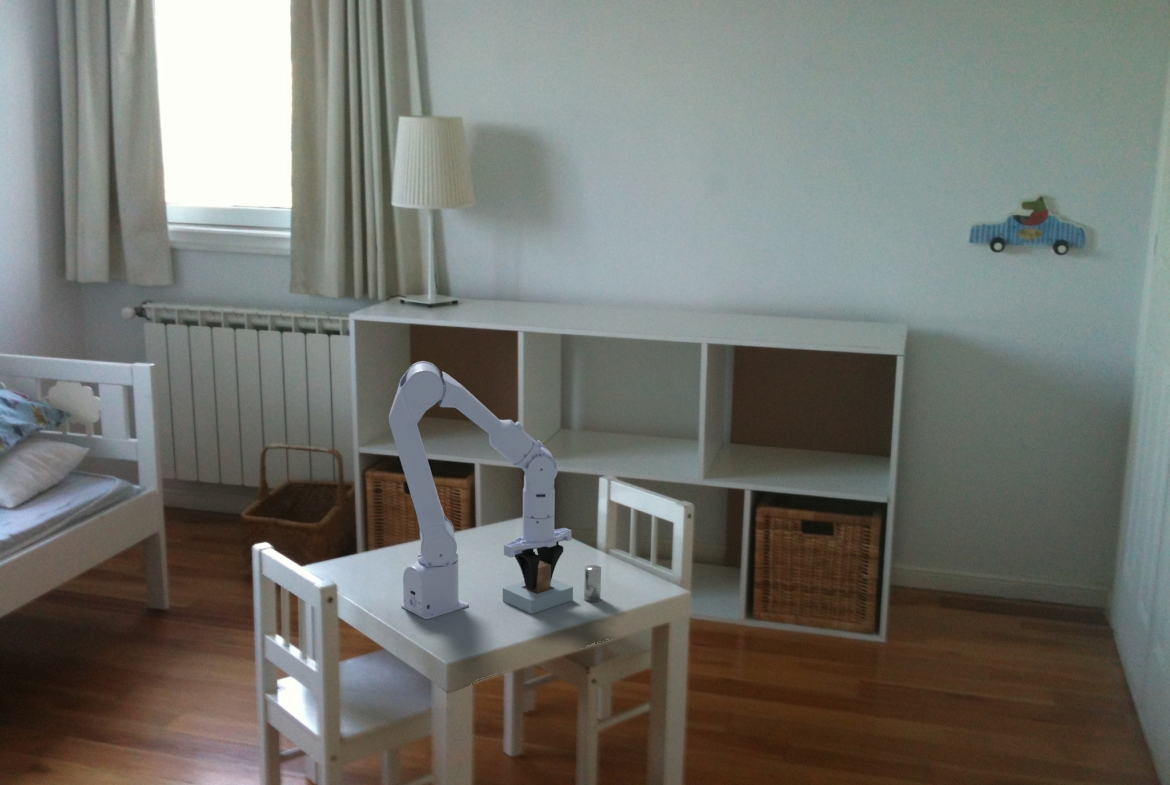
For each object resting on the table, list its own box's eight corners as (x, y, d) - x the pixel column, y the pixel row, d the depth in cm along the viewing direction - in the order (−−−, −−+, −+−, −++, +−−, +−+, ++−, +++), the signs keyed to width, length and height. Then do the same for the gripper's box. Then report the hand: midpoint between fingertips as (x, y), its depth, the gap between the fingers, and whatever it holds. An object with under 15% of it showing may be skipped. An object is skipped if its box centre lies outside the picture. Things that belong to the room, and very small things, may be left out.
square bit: (537, 599, 205) (538, 568, 204) (527, 594, 207) (527, 563, 206) (550, 595, 207) (550, 564, 206) (539, 590, 209) (540, 560, 208)
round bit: (592, 603, 206) (592, 572, 205) (580, 598, 208) (581, 567, 207) (603, 599, 208) (604, 568, 207) (592, 594, 210) (593, 564, 209)
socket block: (531, 614, 201) (531, 600, 201) (502, 600, 207) (502, 588, 206) (572, 599, 208) (573, 587, 207) (544, 587, 213) (544, 575, 213)
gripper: (522, 527, 196) (521, 601, 199) (583, 511, 206) (582, 581, 209) (496, 518, 201) (496, 590, 204) (557, 502, 211) (556, 571, 214)
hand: (538, 585), depth 207 cm, fingers closed on square bit, 3 cm apart
